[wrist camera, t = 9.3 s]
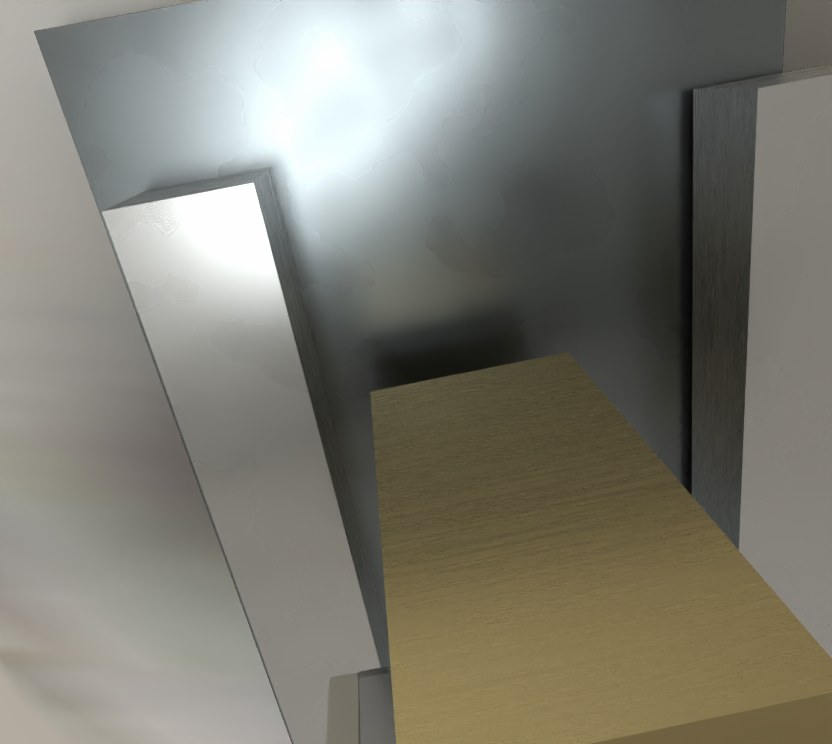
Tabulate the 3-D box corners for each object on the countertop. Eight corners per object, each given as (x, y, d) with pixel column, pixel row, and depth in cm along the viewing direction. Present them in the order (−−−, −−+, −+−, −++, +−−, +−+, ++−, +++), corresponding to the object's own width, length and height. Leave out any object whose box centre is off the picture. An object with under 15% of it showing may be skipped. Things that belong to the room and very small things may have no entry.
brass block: (435, 680, 16) (508, 1172, 9) (370, 391, 13) (399, 783, 6) (594, 647, 16) (798, 1106, 9) (568, 351, 13) (856, 687, 6)
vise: (66, 37, 13) (-43, 15, 9) (746, -86, 13) (897, -155, 10) (317, 763, 22) (311, 897, 18) (722, 678, 22) (796, 794, 18)
